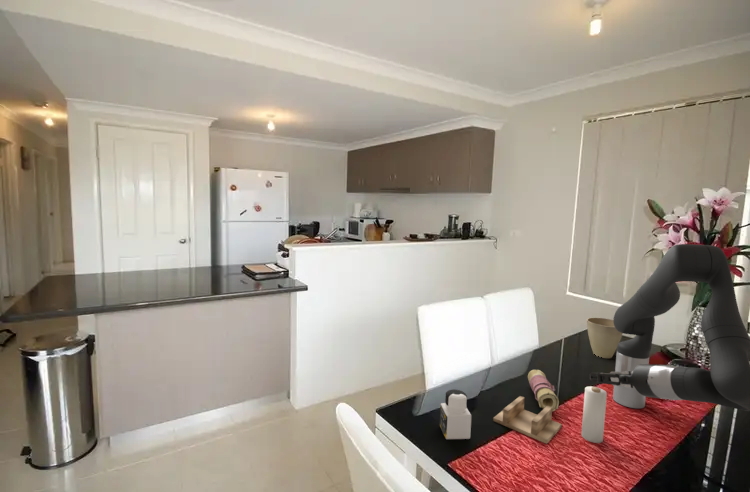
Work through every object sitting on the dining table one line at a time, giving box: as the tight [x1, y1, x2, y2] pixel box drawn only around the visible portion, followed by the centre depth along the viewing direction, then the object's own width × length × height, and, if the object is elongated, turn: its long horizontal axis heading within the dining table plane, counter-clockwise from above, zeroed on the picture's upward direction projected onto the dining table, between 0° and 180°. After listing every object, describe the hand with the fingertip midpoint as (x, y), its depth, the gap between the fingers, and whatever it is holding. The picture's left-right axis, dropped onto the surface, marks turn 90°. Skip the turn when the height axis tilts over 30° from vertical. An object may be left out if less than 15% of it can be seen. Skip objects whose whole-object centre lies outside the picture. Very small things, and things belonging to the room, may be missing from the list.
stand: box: [492, 395, 562, 444], centre depth 115 cm, size 12×16×5 cm
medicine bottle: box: [439, 388, 472, 440], centre depth 109 cm, size 7×7×12 cm
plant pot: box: [586, 317, 624, 359], centre depth 174 cm, size 15×15×16 cm
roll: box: [581, 385, 608, 444], centre depth 108 cm, size 5×5×15 cm
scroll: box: [527, 369, 560, 413], centre depth 130 cm, size 8×8×20 cm
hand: (602, 376), depth 103 cm, fingers open, 8 cm apart
